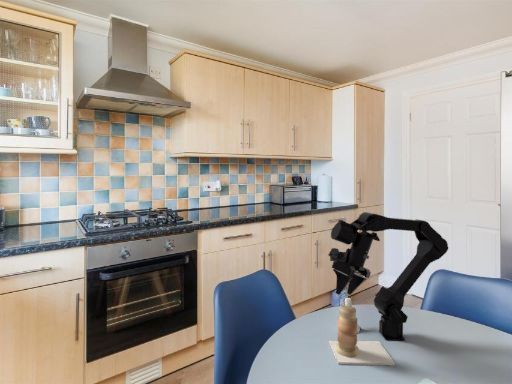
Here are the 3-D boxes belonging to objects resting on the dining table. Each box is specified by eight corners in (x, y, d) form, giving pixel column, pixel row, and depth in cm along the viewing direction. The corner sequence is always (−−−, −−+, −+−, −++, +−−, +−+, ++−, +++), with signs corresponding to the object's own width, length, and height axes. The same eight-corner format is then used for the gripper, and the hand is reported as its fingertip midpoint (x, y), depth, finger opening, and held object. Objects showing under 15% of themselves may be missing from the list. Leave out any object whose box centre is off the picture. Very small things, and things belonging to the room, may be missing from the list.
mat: (379, 343, 100) (379, 341, 100) (394, 365, 88) (395, 363, 88) (329, 342, 101) (329, 340, 101) (338, 364, 89) (338, 362, 89)
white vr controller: (350, 304, 119) (360, 299, 114) (354, 338, 113) (365, 334, 107) (332, 301, 118) (342, 296, 112) (335, 335, 111) (345, 332, 105)
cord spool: (348, 343, 99) (349, 302, 99) (363, 354, 93) (364, 311, 92) (330, 347, 97) (331, 306, 96) (345, 359, 90) (345, 315, 90)
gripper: (348, 244, 115) (333, 284, 114) (326, 236, 101) (309, 282, 100) (377, 255, 107) (362, 298, 107) (358, 249, 93) (340, 298, 93)
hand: (343, 294), depth 102 cm, fingers open, 9 cm apart
